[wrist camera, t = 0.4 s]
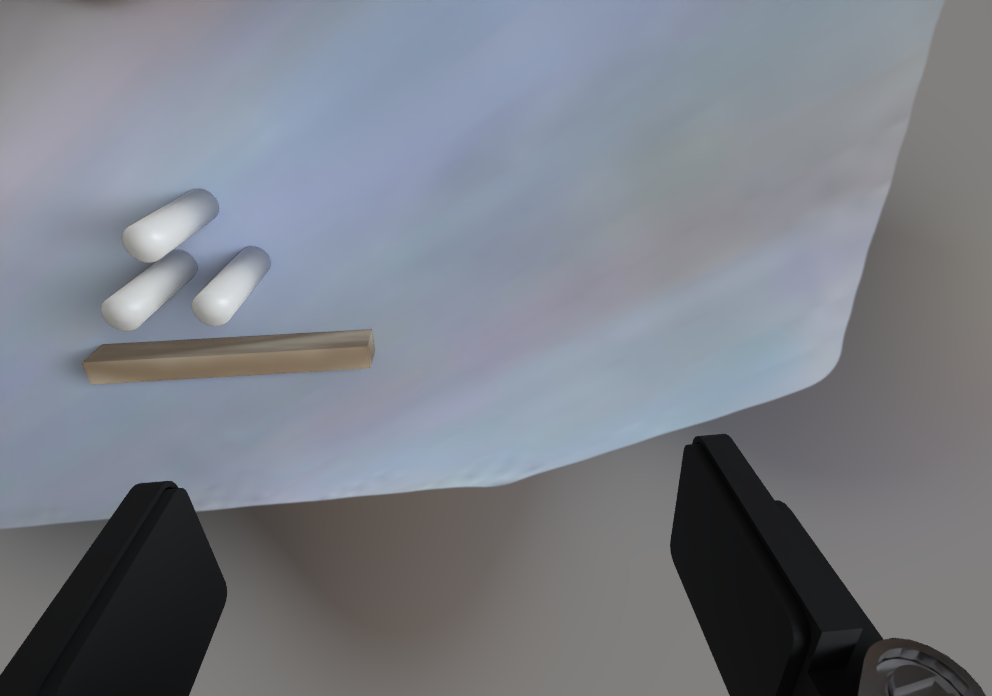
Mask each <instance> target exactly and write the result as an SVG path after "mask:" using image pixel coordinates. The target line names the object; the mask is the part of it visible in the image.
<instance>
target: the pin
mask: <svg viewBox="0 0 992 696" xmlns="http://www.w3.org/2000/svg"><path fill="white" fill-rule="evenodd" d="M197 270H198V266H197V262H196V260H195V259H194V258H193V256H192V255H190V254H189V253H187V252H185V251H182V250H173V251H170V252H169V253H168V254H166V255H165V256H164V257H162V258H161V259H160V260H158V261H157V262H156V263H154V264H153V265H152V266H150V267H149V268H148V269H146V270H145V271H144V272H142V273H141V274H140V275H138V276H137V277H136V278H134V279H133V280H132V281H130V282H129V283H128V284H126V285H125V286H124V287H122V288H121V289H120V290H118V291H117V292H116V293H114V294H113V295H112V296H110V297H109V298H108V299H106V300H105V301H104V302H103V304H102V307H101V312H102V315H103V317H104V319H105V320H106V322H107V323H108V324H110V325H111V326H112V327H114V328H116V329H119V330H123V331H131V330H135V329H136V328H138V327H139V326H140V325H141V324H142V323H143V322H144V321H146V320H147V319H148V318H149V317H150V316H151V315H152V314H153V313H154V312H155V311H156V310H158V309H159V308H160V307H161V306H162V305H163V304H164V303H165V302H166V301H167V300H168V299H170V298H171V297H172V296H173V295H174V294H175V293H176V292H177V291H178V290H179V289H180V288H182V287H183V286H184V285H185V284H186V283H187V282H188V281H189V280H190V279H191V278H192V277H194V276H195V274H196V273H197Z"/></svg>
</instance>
